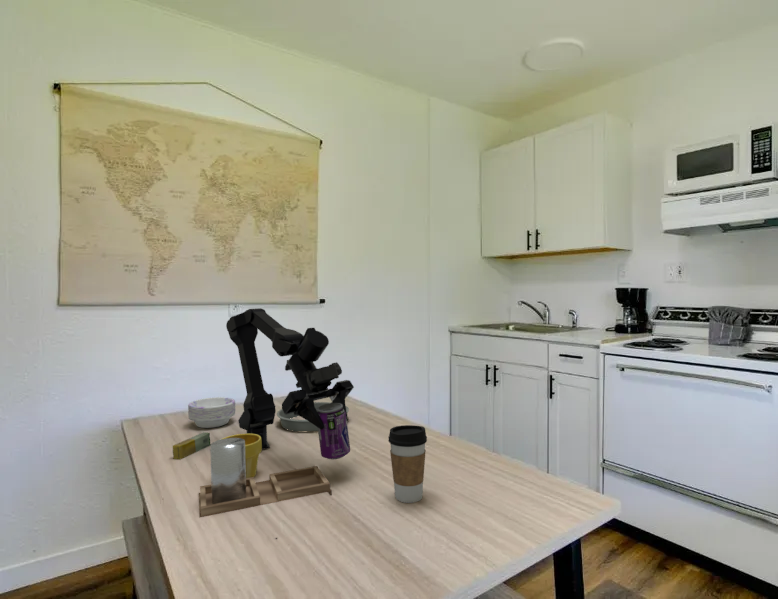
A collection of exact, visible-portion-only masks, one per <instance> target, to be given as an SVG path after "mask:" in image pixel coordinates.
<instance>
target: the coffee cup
mask: <svg viewBox="0 0 778 599" xmlns="http://www.w3.org/2000/svg"><path fill="white" fill-rule="evenodd" d="M427 438H428V437H427V432H426V428H425V427H424V426H422V425H397V426H393V427H392V428H390V429H389V434H388V443H389V444H390V451H389V453H390V461H391V462H390V463H391V471H392V479H393V485H394V488H393V489H394V496H395V499H396V500H397V501H399V502H400V503H401V502H402V503H405V504H406V503H407V504H408V503H409V504H410V503H411V504H413V503H417V502H419V501H421V499H422V498H423V492H424V491H423V490H424V476H425V463H426V453H427V452H426V449H425V448H426V443H427V441H428V439H427Z"/></svg>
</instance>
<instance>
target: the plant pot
mask: <svg viewBox="0 0 778 599" xmlns="http://www.w3.org/2000/svg"><path fill="white" fill-rule="evenodd" d="M226 438H241V439H244V440H245V460H246V478H251V477H254V478H255V476H256V475H257V469H258V461H259V458H260V457H259V456H260V454H261V453H262V450H263V449H262V440H261V436H259V435H257V434H247V433H237V434H232V435H228V436H225V437H223V438H221V439H226Z"/></svg>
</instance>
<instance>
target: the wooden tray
mask: <svg viewBox="0 0 778 599" xmlns="http://www.w3.org/2000/svg"><path fill="white" fill-rule="evenodd" d="M268 476H269V479H268V480H261V481H257V482H256V480H255V476H254V477H251V478H246V498H243V499H238V500H233V501H227V502H222V503H217V504H213V503H212V487H211V484H206V485H201V486H199V488H200V489H199V492H198V506H199V508H198V512H199V516H198V517H199V518H205V517H209V516H214V515H219V514H223V513H229V512H235V511H239V510H243V509H249V508H254V507H259V506H263V505H269V504H274V503H279V502H283V501H284V502H285V501H289V500H293V499H297V498H298V499H299V498H303V497H309V496H313V495H318V494H323V493H324V494H325V493H327V494H328V495H329V496H332V495H333V491H332V488H331V483H330V482H329V480H328V479H327V477H326V476H325V475H324V474H323V472H322V471H321V469H320V467H318V465H313V466H309V467H303V468H297V469H291V470H285V471H280V472H273V473H269V475H268Z"/></svg>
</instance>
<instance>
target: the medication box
mask: <svg viewBox="0 0 778 599" xmlns="http://www.w3.org/2000/svg"><path fill="white" fill-rule="evenodd" d="M210 434H211V433H210V432H201V433H199V434H196V435H194V436H192V437H190V438H187V439H185V440H182V441H181V442H178V443H176V444H174V445H172V456H173V458H172V459H173V460H180V461H181V460H183V459H184V458H187V457H190V456H192V455H194V454H196V453H197V452H200V451H202V450H204V449H206V448H208V447H209V448H210V445H211V444H212V443H211V437H210V436H211V435H210Z"/></svg>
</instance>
